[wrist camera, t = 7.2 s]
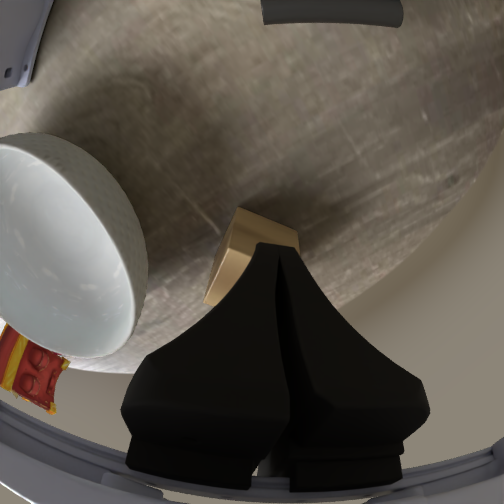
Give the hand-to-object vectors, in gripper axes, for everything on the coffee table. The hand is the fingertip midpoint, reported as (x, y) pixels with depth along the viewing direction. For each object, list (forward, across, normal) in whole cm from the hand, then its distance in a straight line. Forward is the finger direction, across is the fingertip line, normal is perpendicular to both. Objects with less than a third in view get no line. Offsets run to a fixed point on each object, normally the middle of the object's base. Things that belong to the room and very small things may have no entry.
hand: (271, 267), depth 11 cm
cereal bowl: (+10, +15, +5) cm, 18 cm away
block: (+10, 0, +5) cm, 11 cm away
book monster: (+6, +29, +26) cm, 39 cm away
